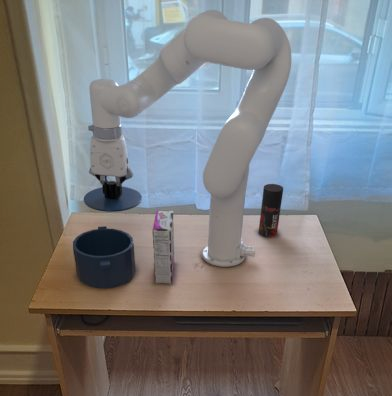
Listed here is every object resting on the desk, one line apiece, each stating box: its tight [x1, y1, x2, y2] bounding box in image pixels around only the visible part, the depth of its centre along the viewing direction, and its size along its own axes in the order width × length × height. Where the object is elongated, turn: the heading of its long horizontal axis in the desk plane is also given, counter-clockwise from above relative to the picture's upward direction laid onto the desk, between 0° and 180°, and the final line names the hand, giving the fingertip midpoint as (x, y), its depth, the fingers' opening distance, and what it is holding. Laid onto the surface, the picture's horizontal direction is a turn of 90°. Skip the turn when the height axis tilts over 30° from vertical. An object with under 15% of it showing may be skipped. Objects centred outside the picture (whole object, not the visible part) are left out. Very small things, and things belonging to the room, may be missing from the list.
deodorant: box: [258, 183, 284, 238], centre depth 155 cm, size 6×6×15 cm
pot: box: [72, 226, 136, 289], centre depth 136 cm, size 16×21×10 cm
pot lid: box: [83, 180, 143, 213], centre depth 145 cm, size 17×17×6 cm
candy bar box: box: [152, 210, 175, 285], centre depth 134 cm, size 11×5×16 cm, turn 179°
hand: (112, 196), depth 146 cm, fingers closed on pot lid, 2 cm apart
